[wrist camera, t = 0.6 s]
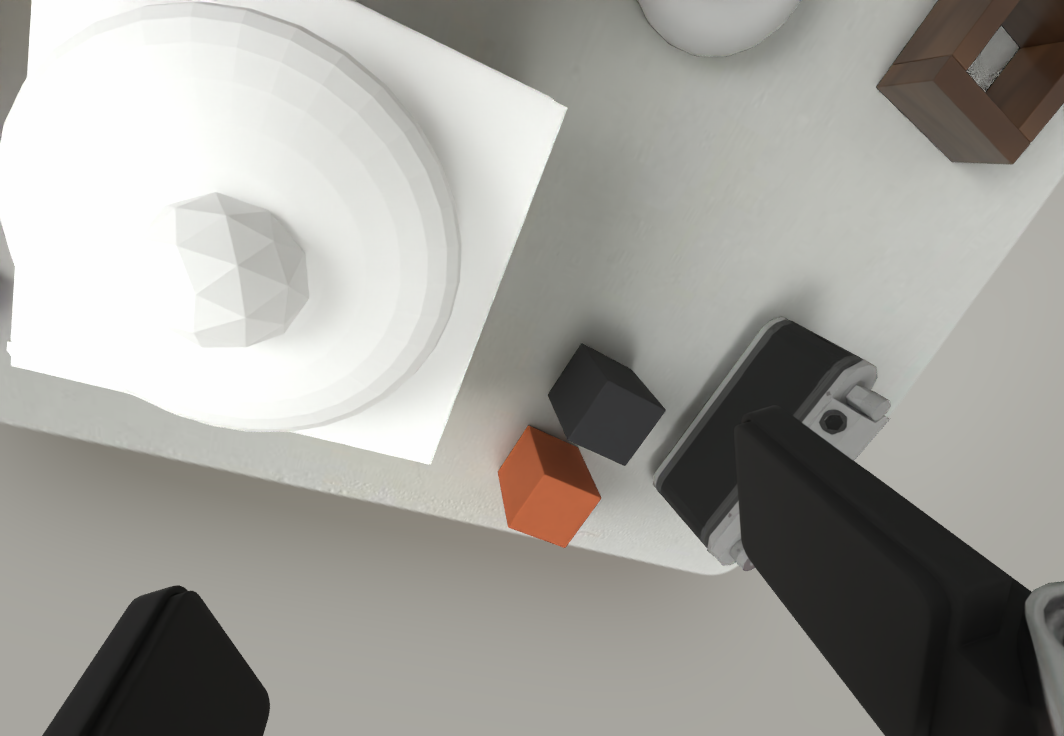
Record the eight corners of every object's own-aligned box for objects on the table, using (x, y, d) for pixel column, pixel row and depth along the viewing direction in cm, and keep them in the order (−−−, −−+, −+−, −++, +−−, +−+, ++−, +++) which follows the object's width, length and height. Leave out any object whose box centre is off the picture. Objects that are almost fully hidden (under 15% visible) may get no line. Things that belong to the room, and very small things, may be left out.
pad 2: (547, 395, 36) (567, 440, 30) (581, 342, 35) (608, 379, 29) (597, 419, 37) (625, 466, 32) (632, 369, 36) (666, 410, 31)
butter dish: (163, -61, 23) (-290, -395, 9) (531, 113, 28) (630, 86, 14) (116, 299, 28) (-208, 460, 14) (431, 388, 34) (428, 570, 19)
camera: (705, 498, 44) (798, 595, 36) (640, 482, 39) (732, 591, 31) (825, 345, 40) (959, 419, 32) (769, 306, 35) (911, 382, 27)
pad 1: (497, 471, 38) (507, 527, 32) (528, 424, 36) (544, 474, 31) (547, 492, 39) (565, 548, 34) (578, 447, 38) (602, 498, 32)
